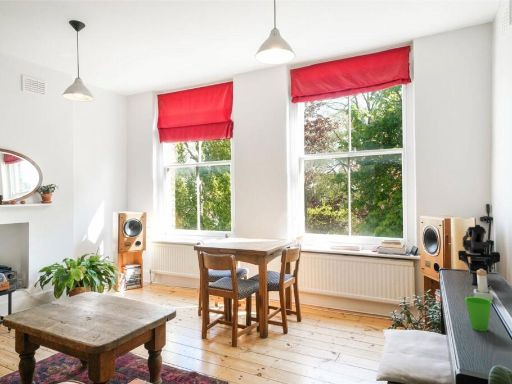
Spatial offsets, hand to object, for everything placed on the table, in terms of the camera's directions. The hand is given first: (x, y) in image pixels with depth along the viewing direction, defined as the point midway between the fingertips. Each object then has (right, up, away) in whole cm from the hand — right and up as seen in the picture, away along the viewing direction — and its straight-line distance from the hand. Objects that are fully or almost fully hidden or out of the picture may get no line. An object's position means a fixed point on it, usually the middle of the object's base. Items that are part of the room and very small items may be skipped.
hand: (479, 269), depth 173 cm
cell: (-4, -12, -8) cm, 15 cm away
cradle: (-4, -12, -8) cm, 15 cm away
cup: (-30, -13, -45) cm, 55 cm away
